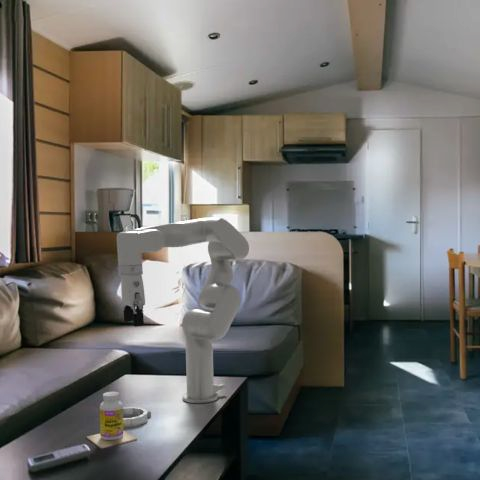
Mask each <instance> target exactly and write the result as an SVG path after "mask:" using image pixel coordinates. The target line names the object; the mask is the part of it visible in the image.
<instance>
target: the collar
mask: <svg viewBox="0 0 480 480" xmlns="http://www.w3.org/2000/svg"><path fill="white" fill-rule="evenodd" d="M151 417H152V411H150V410H147V409H145V408H143V407H138V406H130V407H128V406H127V407H123V428H133V427H139V426H142V425H144V424H145V423H147V422H148V420H149V419H148V418H151Z"/></svg>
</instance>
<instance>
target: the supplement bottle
mask: <svg viewBox="0 0 480 480" xmlns="http://www.w3.org/2000/svg"><path fill="white" fill-rule="evenodd" d="M102 399H103V401H102V402H101V403H100V405H99V426H100V427H99V428H100V429H99V430H100V431H99V432H100V433H99V434H100V436H101V438H102V439H104V440H117V439H120V438H121V437H122V436H123V430H124V427H123V418H124V416H123V408H124V404H123V402H122V401H121V400H120V392H118V391H107V392H104V393H103V394H102Z"/></svg>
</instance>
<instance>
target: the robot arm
mask: <svg viewBox="0 0 480 480" xmlns="http://www.w3.org/2000/svg"><path fill="white" fill-rule="evenodd" d="M207 242H208V244H207V252H208V255H209V258H210V262H211V268H210V269H211V270H210V272H209V275H208V276H207V278H206V281H204V282H205V283H204V284H203V286H202V288H201V290H200V293H199V294H198V295H199V296H198V303H199V306H200V307H202V308H203V309H199V308H196V309H195V308H194V309H190V310H188V311H187V312H186V313H185V314H184V315H183V317H182V321H181V322H182V324H181V326H182V332H183V336H184V341H185V342H184V343H185V364H186V365H185V366H186V369H185V372H186V373H185V374H186V393H184V394H183V395H182V400H183V401H184V402H186V403H190V404H204V403H206V404H207V403H211V402H214V401H215V402H216V400H218V399H219V393H218V392H219V391H222V390H225V389H226V384H224V383H221V384H218V383H214V349H213V344H212V341H211V340H221V339H222V338H223V337H225V336H226V335H227V333H228V331H229V330H230V327H231V325H232V324H233V320H234V318H235V316H236V315H237V312H238V310H239V308H240V303H241V294H240V291H239V289H238V288H237V287H236V286H234V285H233V284H231V283H232V281H233V279H234V271H233V267H232V263H231V261H241V260H244V259H245V258H246V257H247V256H249V255H248V254H249V251H250V245H249V242H248V240H247V239H246V237H245V236H244V235H243V234H242V233H241V232H240V231H239V230H238V229H236V227H235V226H234V225H232V224H231V223H230V222H229V221H228V220H227V219H225V218H223V217H202V218H195V219H190V220H184V221H177V222H171V223H170V222H169V223H166V224H160V225H153V226H145V227H140V228H139V227H138V228H135V229H132V230H130V231H129V230H128V231H121V232H118V233H117V235H116V248H117V249H116V250H117V263H118V264H117V267H118V268H117V269H118V276H119V277H120V279H121V280H120V282H121V283H120V284H121V285H120V287H121V291H120V292H121V301H122V303H123V305H122V309H123V322H126V323H127V322H133V323H132V324H133V327H142V326H144V325H145V321H144V306H145V305H146V295H145V285H144V280H143V274H144V273H143V271H144V270H143V269H144V268H143V255H142V254H143V253H157V252H159V251H161V250H162V249H163V248H182V247H188V246H192V245H196V244H202V243H207Z"/></svg>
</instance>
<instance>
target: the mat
mask: <svg viewBox="0 0 480 480" xmlns="http://www.w3.org/2000/svg"><path fill="white" fill-rule="evenodd" d="M85 439H87V440H88V441H90V442H91V443H93V444H94V445H95V446H96V447H99V448H100V449H105V448H110V447H113V446H118V445H122V444H126V443H129V442H133V441H137V440H138V438H137V437H135V436H134V435H132V434H131V433H129V432H127V431H125V430H124V429H123V436H122V437H121V438H120V439H117V440H104V439H102V438H101V436H100V433H95V434H93V435H88V436H86V437H85Z"/></svg>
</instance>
